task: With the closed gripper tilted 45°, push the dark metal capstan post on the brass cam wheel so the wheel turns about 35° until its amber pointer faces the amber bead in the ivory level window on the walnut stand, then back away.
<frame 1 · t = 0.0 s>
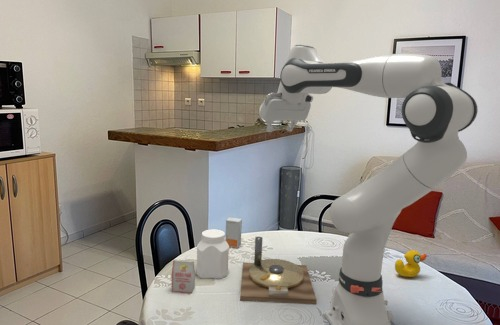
hand: (279, 131, 127), 52 cm above the table, tool tilted 20°, fingers open, 8 cm apart
soda can: (357, 250, 157), on the table
duckling: (408, 276, 135), on the table
level stand: (276, 283, 126), on the table
skincare box: (233, 246, 157), on the table
jar: (212, 272, 132), on the table
tea bag: (183, 290, 119), on the table
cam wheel: (276, 260, 126), point 8 cm above the table, hinge at 0.0°
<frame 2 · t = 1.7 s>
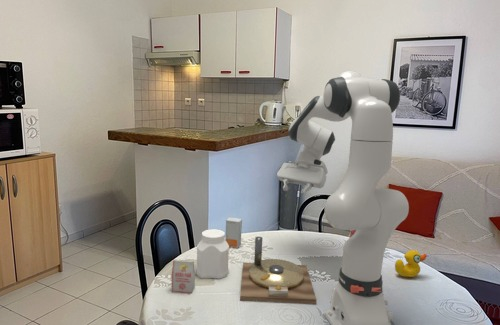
hand: (293, 191, 142), 28 cm above the table, tool tilted 45°, fingers open, 7 cm apart
nothing on the table moved.
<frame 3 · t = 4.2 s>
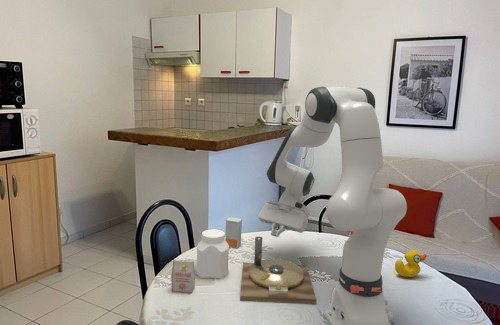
hand: (274, 235, 139), 11 cm above the table, tool tilted 45°, fingers closed
nothing on the table moved.
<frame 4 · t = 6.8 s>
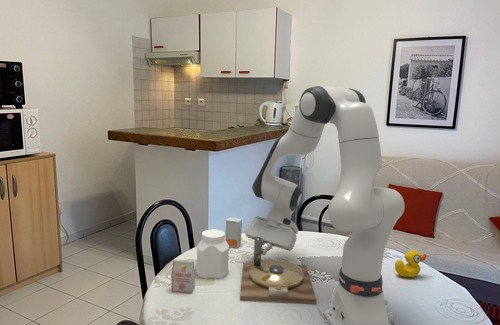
hand: (261, 253, 132), 7 cm above the table, tool tilted 45°, fingers closed, pressing on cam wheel
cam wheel: (276, 260, 126), point 8 cm above the table, hinge at 3.0°, touching gripper
everything else where it was.
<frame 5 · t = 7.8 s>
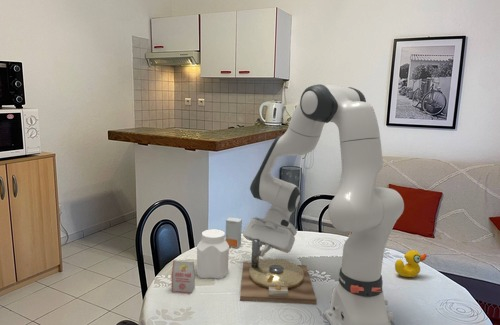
hand: (258, 255, 130), 7 cm above the table, tool tilted 45°, fingers closed, pressing on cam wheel
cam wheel: (276, 260, 126), point 8 cm above the table, hinge at 16.4°, touching gripper
everything else where it was.
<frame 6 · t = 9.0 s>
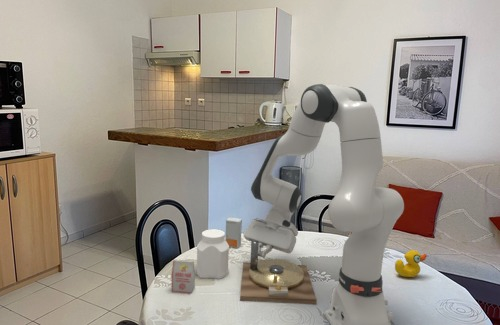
hand: (260, 256, 129), 7 cm above the table, tool tilted 45°, fingers closed
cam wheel: (276, 260, 126), point 8 cm above the table, hinge at 28.7°
everything else where it was.
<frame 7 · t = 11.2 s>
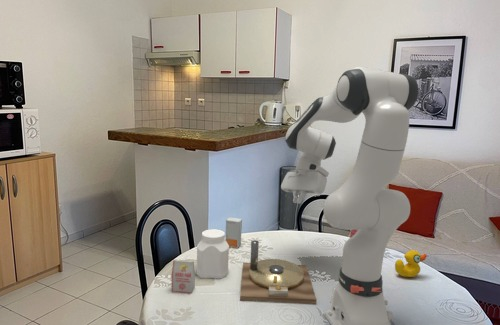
hand: (296, 202, 137), 25 cm above the table, tool tilted 30°, fingers closed
nothing on the table moved.
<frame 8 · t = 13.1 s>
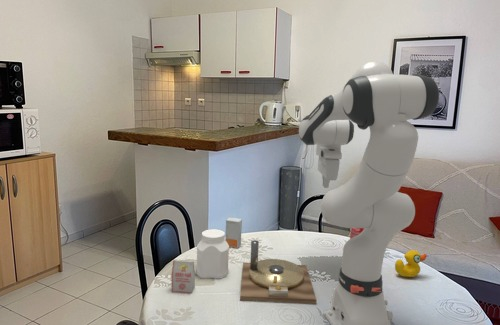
hand: (325, 187, 137), 31 cm above the table, tool pointing down, fingers closed
nothing on the table moved.
at the end: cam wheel at +29° (first picture: +0°); jar moved 0.2 cm from its start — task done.
